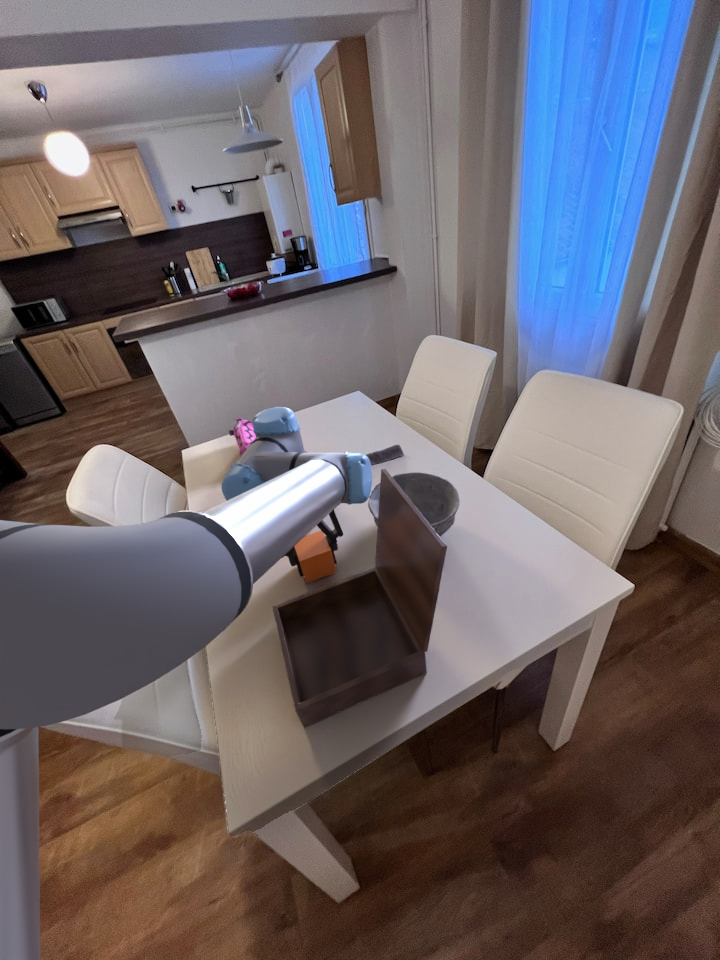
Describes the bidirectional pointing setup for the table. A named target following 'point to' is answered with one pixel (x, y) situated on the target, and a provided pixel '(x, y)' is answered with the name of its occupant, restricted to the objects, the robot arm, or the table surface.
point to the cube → (315, 556)
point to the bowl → (425, 498)
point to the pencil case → (243, 434)
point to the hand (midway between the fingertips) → (317, 566)
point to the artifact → (385, 454)
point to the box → (345, 645)
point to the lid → (409, 558)
